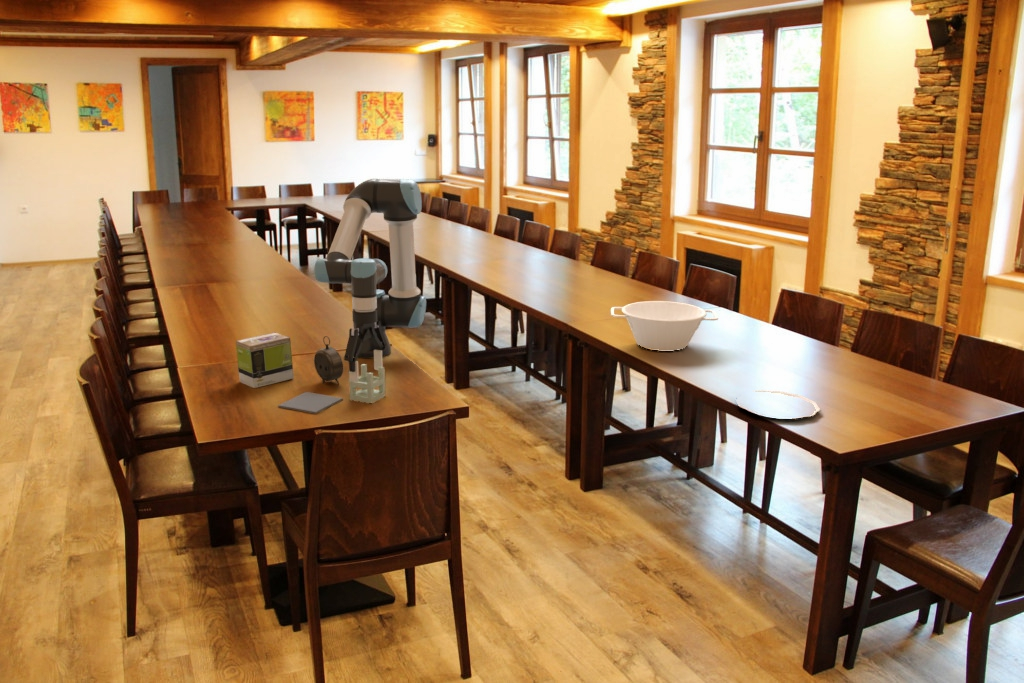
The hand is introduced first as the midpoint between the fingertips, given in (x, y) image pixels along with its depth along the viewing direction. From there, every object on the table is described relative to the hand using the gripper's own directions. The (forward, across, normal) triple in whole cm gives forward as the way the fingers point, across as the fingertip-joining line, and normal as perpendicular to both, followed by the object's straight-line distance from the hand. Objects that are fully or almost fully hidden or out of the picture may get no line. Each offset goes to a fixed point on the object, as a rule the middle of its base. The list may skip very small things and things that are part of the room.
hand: (366, 375), depth 279 cm
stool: (+8, 0, 0) cm, 8 cm away
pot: (+7, -101, +68) cm, 122 cm away
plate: (+8, -48, +119) cm, 128 cm away
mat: (+8, +12, -13) cm, 19 cm away
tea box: (+8, 0, -40) cm, 41 cm away
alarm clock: (+8, -7, -20) cm, 23 cm away
